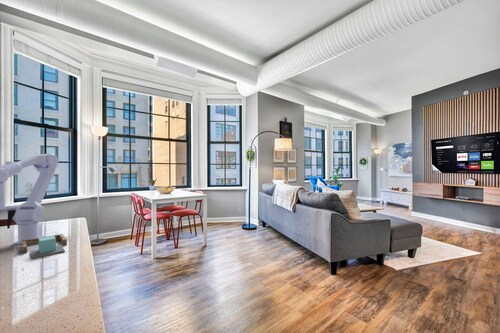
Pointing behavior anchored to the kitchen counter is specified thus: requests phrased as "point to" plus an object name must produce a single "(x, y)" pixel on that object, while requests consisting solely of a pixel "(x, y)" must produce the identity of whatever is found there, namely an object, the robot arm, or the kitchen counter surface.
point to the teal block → (47, 244)
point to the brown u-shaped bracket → (36, 241)
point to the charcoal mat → (37, 254)
